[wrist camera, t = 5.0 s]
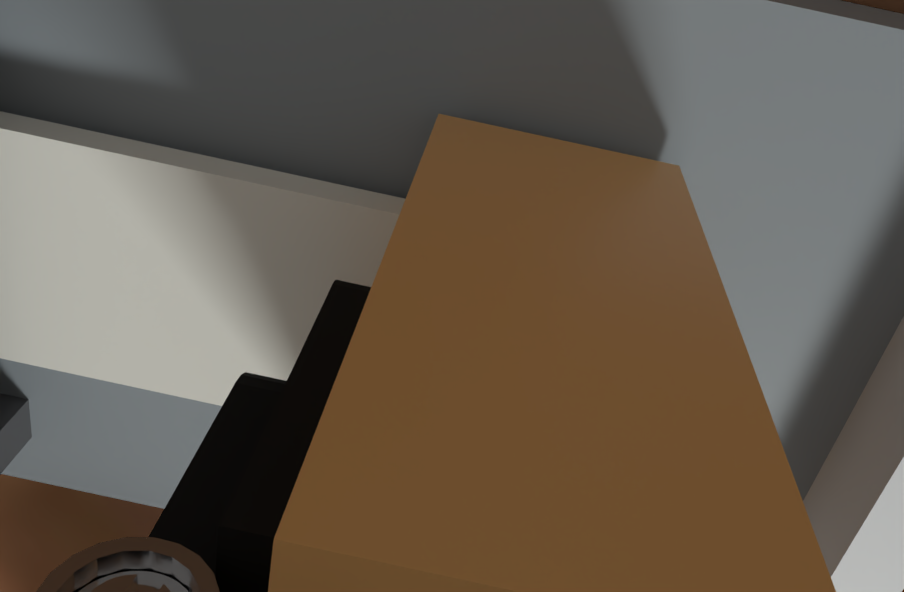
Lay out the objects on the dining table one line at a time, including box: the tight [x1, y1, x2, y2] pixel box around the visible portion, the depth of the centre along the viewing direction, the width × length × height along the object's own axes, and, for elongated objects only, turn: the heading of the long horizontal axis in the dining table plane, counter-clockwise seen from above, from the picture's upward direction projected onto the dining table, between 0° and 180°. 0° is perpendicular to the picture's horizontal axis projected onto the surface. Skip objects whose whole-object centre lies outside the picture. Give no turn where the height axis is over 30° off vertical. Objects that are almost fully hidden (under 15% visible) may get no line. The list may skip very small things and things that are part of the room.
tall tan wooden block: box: [0, 111, 836, 592], centre depth 9 cm, size 12×6×7 cm, turn 79°
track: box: [0, 0, 904, 592], centre depth 12 cm, size 22×10×3 cm, turn 79°
